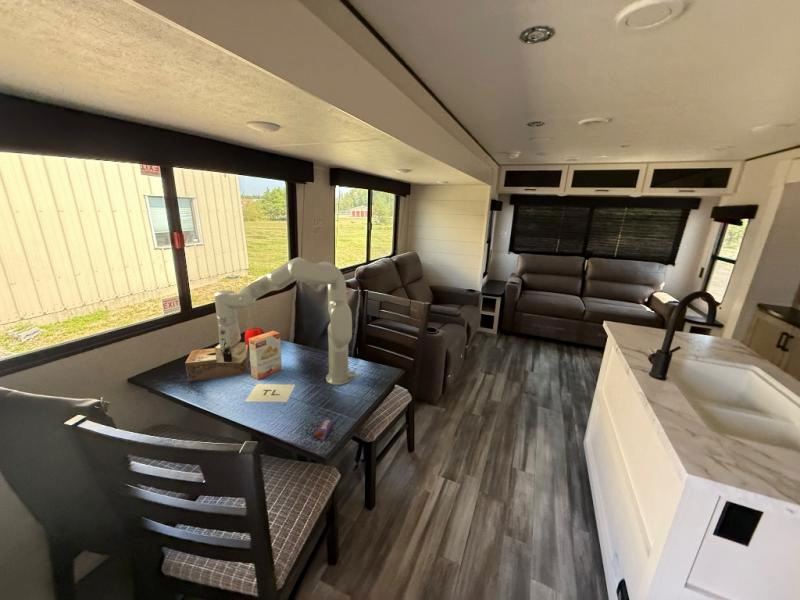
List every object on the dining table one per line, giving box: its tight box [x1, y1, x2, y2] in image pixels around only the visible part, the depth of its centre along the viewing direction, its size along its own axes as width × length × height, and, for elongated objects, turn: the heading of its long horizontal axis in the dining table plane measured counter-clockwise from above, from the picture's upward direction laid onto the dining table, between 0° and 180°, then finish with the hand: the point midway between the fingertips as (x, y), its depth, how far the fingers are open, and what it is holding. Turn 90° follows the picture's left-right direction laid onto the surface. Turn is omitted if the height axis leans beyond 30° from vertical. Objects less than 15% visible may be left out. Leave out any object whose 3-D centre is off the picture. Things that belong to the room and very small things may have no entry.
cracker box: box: [248, 330, 282, 380], centre depth 154 cm, size 14×6×21 cm, turn 148°
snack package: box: [311, 417, 337, 441], centre depth 118 cm, size 12×2×5 cm
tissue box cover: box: [184, 344, 250, 382], centre depth 155 cm, size 26×14×10 cm, turn 112°
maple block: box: [214, 341, 246, 363], centre depth 133 cm, size 10×6×7 cm, turn 94°
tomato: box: [244, 326, 265, 348], centre depth 182 cm, size 12×12×13 cm
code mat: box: [244, 383, 296, 403], centre depth 140 cm, size 18×14×1 cm
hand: (231, 357), depth 134 cm, fingers closed on maple block, 6 cm apart
